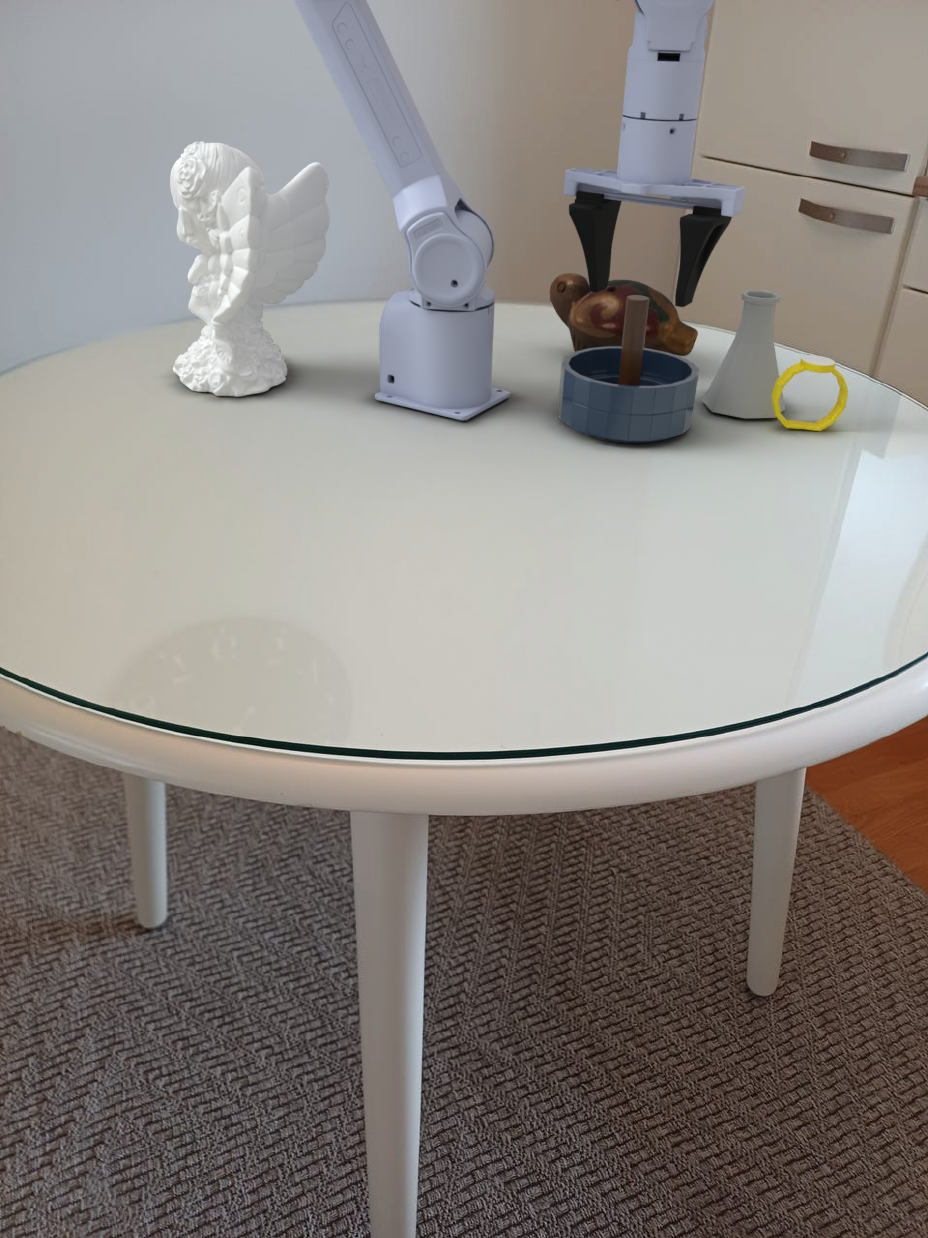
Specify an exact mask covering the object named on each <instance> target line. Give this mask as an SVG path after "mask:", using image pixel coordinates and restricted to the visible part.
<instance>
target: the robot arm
mask: <svg viewBox="0 0 928 1238" xmlns="http://www.w3.org/2000/svg"><path fill="white" fill-rule="evenodd" d="M619 1H620V0H615V2H619ZM293 2H294V5H295V6H296V8H297V10H298V12H299V15H300V16H301V18H302V20H303V22H304V24H305V26H306V28H307V30H308V32H309V34H310V36H311V38H312V40H313V42H314V45H315V46H316V49H317V51H318V52H319V55H320V57H321V58H322V61H323V63H324V65H325V67H326V68H327V71H328V73H329V75H330V77H331V79H332V81H333V83H334V86H335V87H336V88H337V91H338V93H339V95H340V97H341V99H342V100H343V103H344V105H345V107H346V109H347V111H348V113H349V115H350V117H351V120H352V121H353V123H354V125H355V127H356V130H357V132H358V133H359V135H360V137H361V139H362V141H363V143H364V145H365V147H366V149H367V152H368V154H369V155H370V157H371V160H372V161H373V163H374V166H375V167H376V169H377V172H378V173H379V175H380V177H381V179H382V181H383V183H384V185H385V187H386V189H387V191H388V194H389V196H390V198H391V200H392V204H393V209H394V213H395V217H396V222H397V227H398V231H399V233H400V235H401V237H402V239H403V241H404V244H405V246H406V250H407V258H408V259H407V260H408V262H407V264H408V265H407V266H408V267H407V268H408V274H409V279H410V282H411V284H412V285H413V286H412V287H410V290H402V291H401V290H400V291H398V292H395V293H394V294H393V295H392V296H391V297H390V298H389V299H388V300H387V301H386V303H385V305H384V307H383V311H382V313H381V316H380V321H379V330H378V331H379V332H378V333H379V334H378V336H379V338H378V339H379V340H378V341H379V342H378V343H379V392H376V393H375V394H374V399H375V400H376V401H379V402H384V403H387V404H392V405H396V406H399V407H404V408H409V409H412V410H417V411H421V412H425V413H429V414H434V415H437V416H442V417H445V418H450V419H454V420H458V421H469V420H470V419H471V418H473V417H475V416H477V415H479V414H481V413H482V412H484V411H486V410H488V409H489V408H492V407H493V406H496V405H497V404H499V403H500V402H502V401H504V400H507V399H508V398H509V397H510V396H511V392H510V391H509V390H505V389H502V388H496V387H492V379H493V353H494V352H493V351H494V328H495V327H494V326H495V304H496V302H495V300H496V294H495V292H494V291H493V290H492V289H491V288H490V287H489V285H488V284H487V282H486V279H487V275H488V269H489V266H490V265H491V263H492V260H493V258H494V253H495V247H496V246H495V244H496V243H495V236H494V233H493V229H492V228H491V225H490V224H489V222H488V220H487V219H486V218H485V217H484V216H483V215H482V214H480V213H479V212H478V211H476V210H475V209H474V208H473V207H472V206H471V205H470V204H469V203H468V202H467V200H466V198H465V196H464V195H463V192H462V190H461V188H460V185H458V183H457V182H456V181H455V179H454V178H453V177H452V175H451V174H450V172H449V171H448V170H447V168H446V167H445V164H444V163H443V160H442V158H441V155H440V154H439V152H438V149H437V148H436V146H435V145H436V144H435V143H434V141H433V139H432V137H431V135H430V132H429V130H428V128H427V125H426V124H425V122H424V120H423V117H422V115H421V113H420V111H419V109H418V107H417V105H416V103H415V101H414V99H413V97H412V94H411V92H410V90H409V87H408V85H407V83H406V81H405V79H404V77H403V75H402V73H401V71H400V68H399V67H398V65H397V62H396V60H395V58H394V56H393V54H392V52H391V49H390V47H389V46H388V43H387V41H386V39H385V36H384V34H383V32H382V30H381V28H380V26H379V24H378V22H377V19H376V18H375V15H374V14H373V11H372V9H371V7H370V5H369V2H368V0H293ZM715 2H716V0H633V3H634V5H635V7H636V8H637V10H635V12H634V22H633V31H632V32H633V35H632V42H631V45H630V46H629V48H628V51H627V61H626V69H625V70H626V72H625V82H624V92H623V103H622V113H621V114H622V115H621V126H620V136H619V145H618V146H619V147H618V157H617V168H616V170H613V169H596V168H584V167H573V168H569V169H565V172H564V185H563V195H564V196H567V197H575V199H574V202H572V203H569V204H568V215H569V217H570V219H571V221H572V223H573V225H574V227H575V230H576V232H577V235H578V238H579V241H580V244H581V248H582V251H583V256H584V260H585V266H586V271H587V276H588V277H587V279H588V284H589V287H590V292H596V293H597V292H599V291H601V290H604V289H606V288H607V286H608V281H610V274H611V261H612V249H613V242H614V236H615V231H616V226H617V222H618V216H619V212H620V209H621V205H622V203H623V202H627V203H636V204H643V205H651V206H659V207H665V208H666V207H667V208H674V209H681V210H690V211H692V213H688V214H685V215H683V216H680V217H679V232H680V233H679V234H680V241H679V242H680V247H679V249H680V251H679V268H678V275H677V281H676V288H675V294H674V296H675V297H674V298H675V299H674V303H675V304H674V306H675V307H679V308H685V307H687V306H689V305H690V304H692V303H693V301H694V296H695V293H696V290H697V287H698V284H699V281H700V279H701V276H702V275H703V272H704V270H705V267H706V265H707V262H708V261H709V259H710V257H711V255H712V253H713V251H714V249H715V248H716V246H717V244H718V242H719V241H720V240H721V237H722V236H723V234H724V233H725V231H726V230H727V228H728V227H729V225H730V223H731V222H732V219H733V218H734V217H736V216H739V215H741V214H743V211H744V210H743V209H744V202H745V196H746V190H747V188H746V186H739V185H731V184H726V183H721V182H715V181H710V180H705V179H700V178H693V177H691V173H692V165H693V158H694V157H693V156H694V149H695V143H696V142H695V141H696V133H697V125H698V118H699V109H700V101H701V94H702V85H703V78H704V70H705V60H706V50H705V48H704V45H705V41H706V38H707V36H708V29H709V26H708V25H709V24H708V13H707V12H708V11H709V10H710V9H711V7H712V6H713V4H714V3H715ZM666 197H669V198H666Z"/></svg>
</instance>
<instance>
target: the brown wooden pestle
mask: <svg viewBox="0 0 928 1238" xmlns="http://www.w3.org/2000/svg"><path fill="white" fill-rule="evenodd" d="M648 306H649V298H648V297H646V296H642V295H630V296H628V297H627V299H626V309H625V319H624V329H623V339H622V349H621V358H620V368H619V378H618V384H619V385H629V386H640V378H641V369H642V360H643V351H644V342H645V333H646V324H647V315H648Z"/></svg>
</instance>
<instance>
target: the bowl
mask: <svg viewBox="0 0 928 1238" xmlns="http://www.w3.org/2000/svg"><path fill="white" fill-rule="evenodd" d="M621 349H622V346H608V347H607V346H606V347H596V348H588V349H584V350H580V351H576V352H575V351H573V352H571V353H569V354H567V355H565V356H564V358H563V360H562V361H561V365H560V366H561V367H560V379H559V393H558V406H557V407H558V408H557V414H558V416H559V419H560V421H561V422H562V423H564V424H565V425H567V426H568V427H569V428H571V429H573V430H575V431H578V432H579V433H581V434H583V435H586V436H588V437H591V438H594V439H598V440H602V441H607V442H612V443H620V444H647V443H655V442H660V441H664V440H667V439H670V438H671V439H672V438H673V437H676V436H680V435H682V434H684V433H685V432H687V431H688V430H689V429H690V428H691V427H692V424H693V419H694V417H693V416H694V411H695V402H696V396H697V388H698V382H699V374H700V369H699V368H698V367H697V365H696V364H695V363H694V362H693V361H690V360H688V359H687V358H685V357H684V356H679V355H674V354H671V353H668V352H663V351H658V350H653V349H647V348H644V351H643V360H642V369H641V378H640V386H629V385H619V384H618V378H619V368H620V358H621Z"/></svg>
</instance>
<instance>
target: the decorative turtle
mask: <svg viewBox="0 0 928 1238" xmlns="http://www.w3.org/2000/svg"><path fill="white" fill-rule="evenodd" d="M630 295H642V296H646V297H648V298H649V306H648V315H647V324H646V333H645V342H644V348H647V349H653V350H658V351H663V352H668V353H671V354H674V355H677V356H680V357H687V356H688V355H689V354H690V353H692V351H693V349H694V347H695V344H696V341H697V338H698V335H699V332H698V330H697V329H696V328H695V327H693V326H691V325H689V324H686V323H684V322H683V321H681V320H680V315H679V314H678V310H677V308H676V306H675V304H674V303H673V302H672V301H671V300H670V298H668V297H667V296H666V295H665V294H664V293H663V292H661V291H659V290H657V289H654V288H653V287H651V286H649V285H648V284H645V283H643V282H640V281H637V280H631V279H611V280H610V279H609V281H608V286H607V288H606V289H604V290H601V291H599V292H597V293H596V292H590V287H589V280H588V277H585V276H583V275H582V274H579V273H575V272H574V273H573V272H567V273H561V274H559V275H558V276H556V277H555V278H554V279H553V281H552V282H551V284H550V288H549V301H550V303H551V304H552V308H553V309H554V311H555V313H556V315H557V317H558V318H559V319H560V320H561V322H562V323H563V324H564V325H565V326H566V327H567V329H568V330H569V334H570V335H569V336H570V338H571V343H572V346H573V352H576V351H580V350H584V349H588V348H596V347H606V346H607V347H608V346H622V339H623V329H624V319H625V309H626V299H627V297H628V296H630Z"/></svg>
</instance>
